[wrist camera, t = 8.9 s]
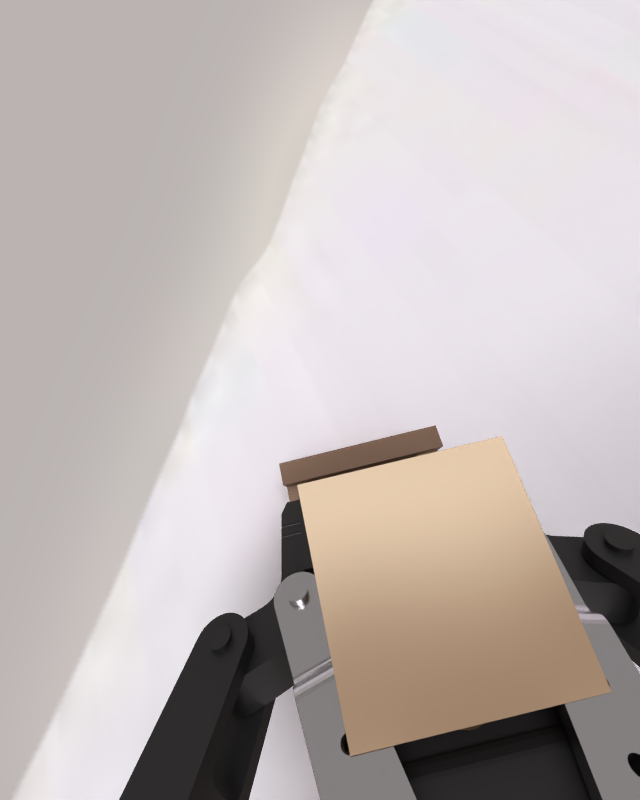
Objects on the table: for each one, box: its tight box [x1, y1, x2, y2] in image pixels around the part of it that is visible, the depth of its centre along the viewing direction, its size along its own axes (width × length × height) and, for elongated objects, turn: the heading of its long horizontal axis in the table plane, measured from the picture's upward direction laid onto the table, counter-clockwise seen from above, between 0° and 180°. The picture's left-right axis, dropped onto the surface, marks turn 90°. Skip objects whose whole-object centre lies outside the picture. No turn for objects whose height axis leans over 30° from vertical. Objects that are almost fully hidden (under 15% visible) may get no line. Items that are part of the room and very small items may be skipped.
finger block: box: [297, 436, 611, 756], centre depth 11 cm, size 4×4×11 cm
